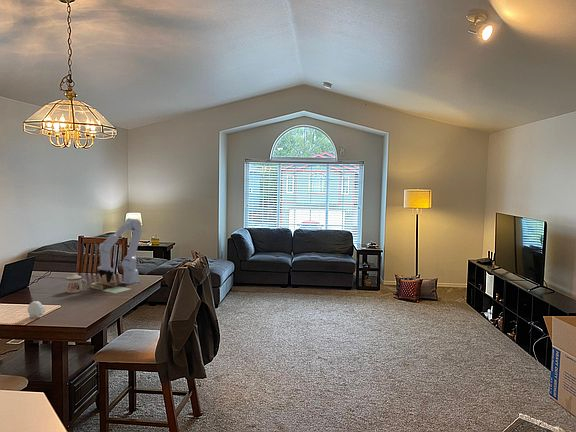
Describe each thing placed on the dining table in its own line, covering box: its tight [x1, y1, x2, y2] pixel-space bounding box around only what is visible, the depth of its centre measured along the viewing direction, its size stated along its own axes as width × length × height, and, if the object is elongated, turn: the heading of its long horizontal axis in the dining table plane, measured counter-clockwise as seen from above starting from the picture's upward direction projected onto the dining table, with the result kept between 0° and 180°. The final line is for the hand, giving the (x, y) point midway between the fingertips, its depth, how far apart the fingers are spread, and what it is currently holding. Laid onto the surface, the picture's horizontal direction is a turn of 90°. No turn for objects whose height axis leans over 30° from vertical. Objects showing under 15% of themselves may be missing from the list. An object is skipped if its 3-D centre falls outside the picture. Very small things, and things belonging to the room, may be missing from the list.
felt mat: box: [101, 285, 132, 294], centre depth 294 cm, size 13×13×1 cm
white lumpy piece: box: [27, 300, 46, 319], centre depth 239 cm, size 6×8×12 cm
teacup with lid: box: [65, 272, 88, 294], centre depth 290 cm, size 12×9×12 cm
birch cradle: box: [89, 281, 118, 291], centre depth 302 cm, size 12×12×2 cm
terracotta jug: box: [99, 274, 111, 286], centre depth 301 cm, size 7×5×6 cm
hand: (106, 281), depth 302 cm, fingers closed on terracotta jug, 5 cm apart
